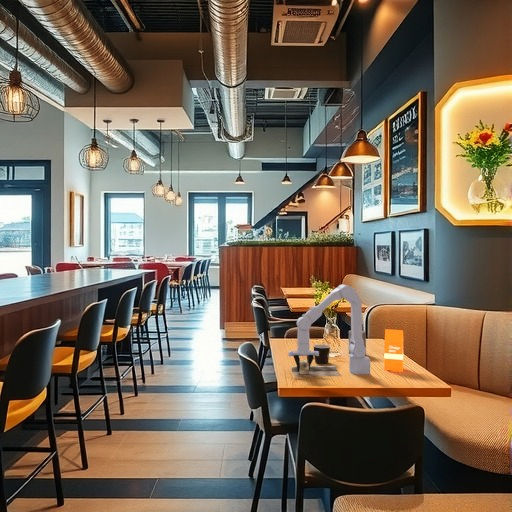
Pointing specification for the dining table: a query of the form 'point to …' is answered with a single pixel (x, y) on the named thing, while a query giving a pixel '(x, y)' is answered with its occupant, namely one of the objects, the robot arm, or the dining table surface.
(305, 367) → the block
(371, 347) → the dining table surface
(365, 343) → the grey tall block
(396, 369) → the orange juice
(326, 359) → the coffee mug
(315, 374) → the marking board
